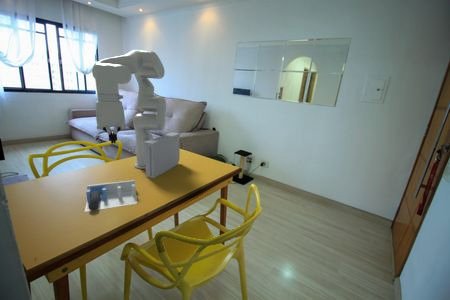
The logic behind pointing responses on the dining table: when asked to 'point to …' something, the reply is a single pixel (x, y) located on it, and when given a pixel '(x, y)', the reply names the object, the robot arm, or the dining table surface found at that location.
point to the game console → (162, 154)
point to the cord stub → (94, 200)
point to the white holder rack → (113, 194)
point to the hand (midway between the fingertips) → (113, 142)
